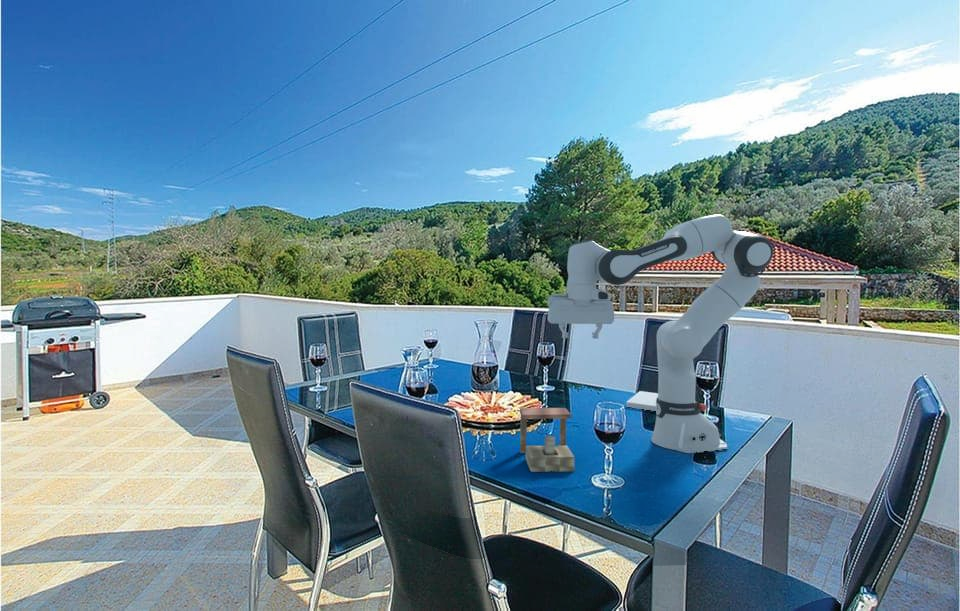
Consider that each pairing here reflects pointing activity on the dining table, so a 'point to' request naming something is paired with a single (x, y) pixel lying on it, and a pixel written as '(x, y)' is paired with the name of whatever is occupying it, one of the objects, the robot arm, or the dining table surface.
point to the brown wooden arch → (543, 414)
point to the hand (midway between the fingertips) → (580, 338)
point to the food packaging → (643, 401)
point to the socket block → (549, 459)
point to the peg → (549, 445)
